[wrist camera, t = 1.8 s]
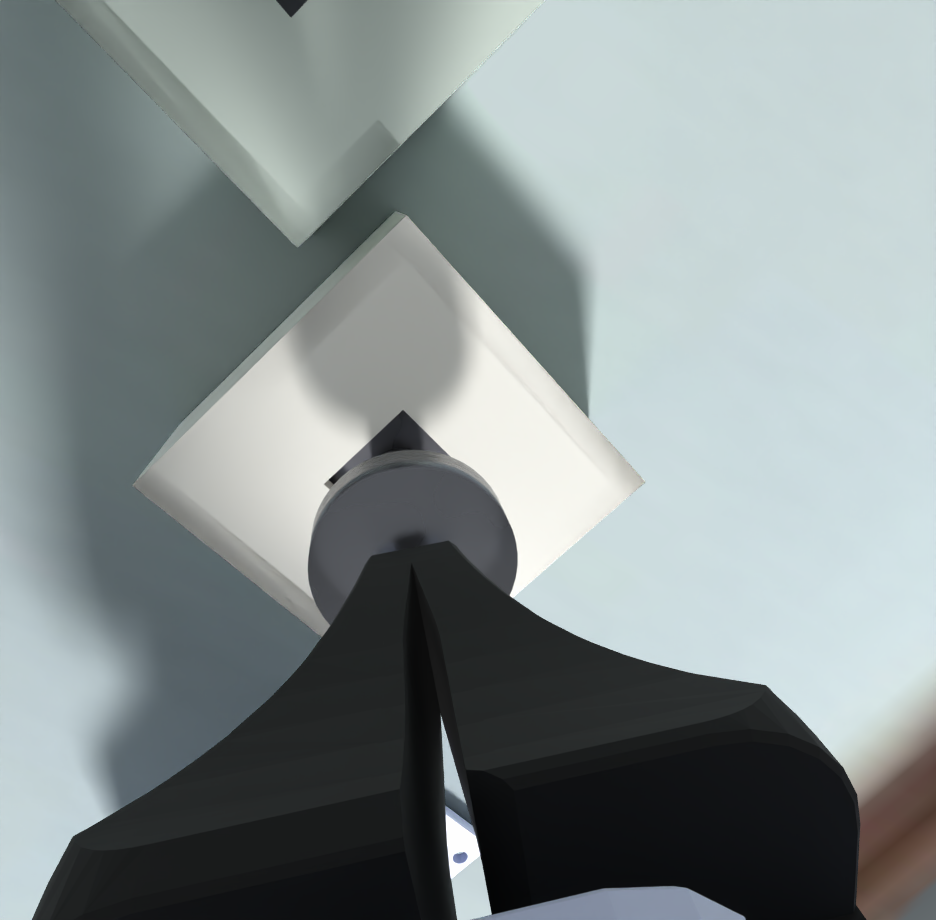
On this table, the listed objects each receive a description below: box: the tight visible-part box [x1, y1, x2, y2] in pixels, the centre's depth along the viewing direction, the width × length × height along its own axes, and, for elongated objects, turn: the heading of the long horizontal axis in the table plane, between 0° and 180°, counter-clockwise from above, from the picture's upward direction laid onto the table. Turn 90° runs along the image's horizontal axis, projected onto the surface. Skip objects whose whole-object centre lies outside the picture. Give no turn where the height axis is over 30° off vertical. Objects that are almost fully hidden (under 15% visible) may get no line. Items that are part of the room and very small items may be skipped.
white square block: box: [132, 211, 645, 637], centre depth 19 cm, size 8×8×4 cm
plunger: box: [308, 410, 518, 625], centre depth 15 cm, size 5×5×5 cm
